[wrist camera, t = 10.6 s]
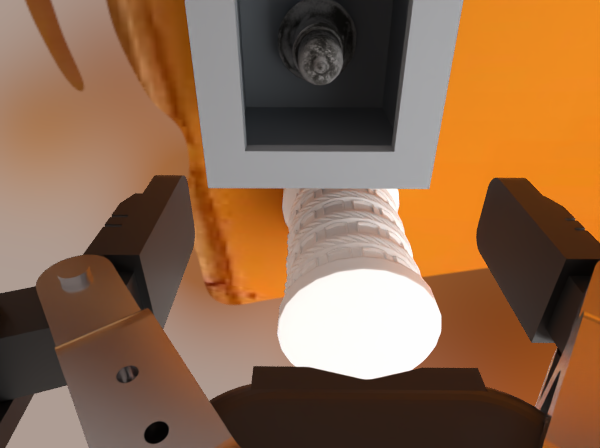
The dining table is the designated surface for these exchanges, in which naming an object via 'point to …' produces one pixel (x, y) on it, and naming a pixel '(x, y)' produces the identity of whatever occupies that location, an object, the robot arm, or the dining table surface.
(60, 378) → the robot arm
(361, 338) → the decorative container
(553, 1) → the dining table surface
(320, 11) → the salt shaker
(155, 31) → the dining table surface
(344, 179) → the box
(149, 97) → the dining table surface
